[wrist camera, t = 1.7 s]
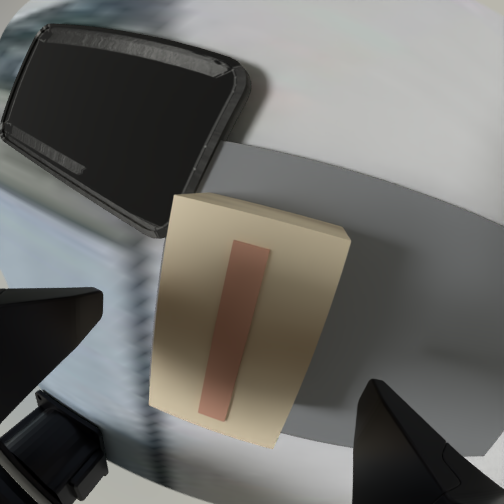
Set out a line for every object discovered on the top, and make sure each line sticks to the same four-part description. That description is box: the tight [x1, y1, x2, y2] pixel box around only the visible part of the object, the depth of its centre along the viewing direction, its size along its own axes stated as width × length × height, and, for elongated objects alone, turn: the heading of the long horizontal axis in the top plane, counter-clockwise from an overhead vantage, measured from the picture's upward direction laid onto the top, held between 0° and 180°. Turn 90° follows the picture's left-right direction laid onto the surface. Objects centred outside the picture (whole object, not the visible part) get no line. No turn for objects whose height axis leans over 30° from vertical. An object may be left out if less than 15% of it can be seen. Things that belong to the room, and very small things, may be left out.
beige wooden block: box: [149, 192, 351, 449], centre depth 11 cm, size 8×5×3 cm, turn 167°
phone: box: [0, 24, 251, 238], centre depth 12 cm, size 8×1×15 cm
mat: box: [149, 140, 504, 457], centre depth 11 cm, size 20×12×1 cm, turn 77°
